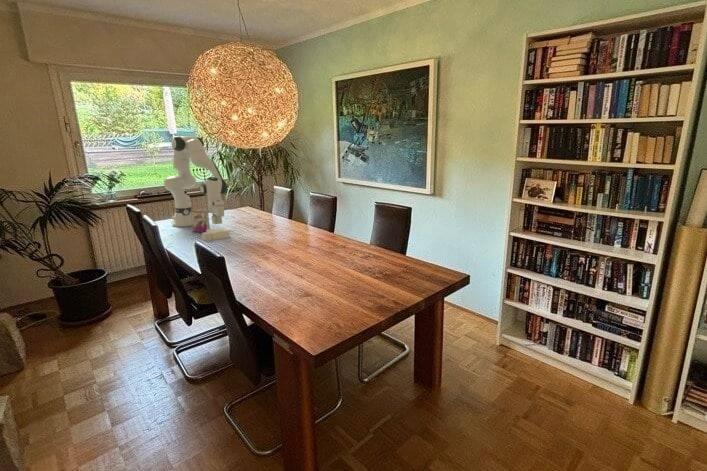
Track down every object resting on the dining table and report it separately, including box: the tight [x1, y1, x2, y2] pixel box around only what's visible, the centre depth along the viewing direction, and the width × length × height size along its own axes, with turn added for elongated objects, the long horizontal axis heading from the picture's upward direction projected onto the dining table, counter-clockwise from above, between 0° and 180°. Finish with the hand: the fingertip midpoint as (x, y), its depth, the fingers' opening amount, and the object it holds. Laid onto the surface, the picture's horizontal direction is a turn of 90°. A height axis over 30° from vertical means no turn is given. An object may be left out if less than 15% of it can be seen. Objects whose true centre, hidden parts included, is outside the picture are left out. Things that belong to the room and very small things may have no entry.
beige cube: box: [201, 232, 213, 242], centre depth 245 cm, size 5×5×5 cm
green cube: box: [211, 215, 223, 225], centre depth 251 cm, size 5×5×5 cm
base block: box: [206, 226, 231, 241], centre depth 254 cm, size 12×12×5 cm
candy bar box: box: [191, 208, 211, 233], centre depth 263 cm, size 11×5×16 cm, turn 84°
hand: (217, 220), depth 251 cm, fingers closed on green cube, 5 cm apart
